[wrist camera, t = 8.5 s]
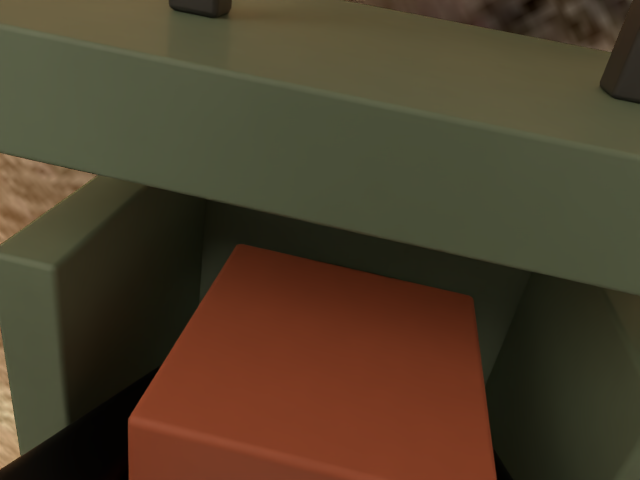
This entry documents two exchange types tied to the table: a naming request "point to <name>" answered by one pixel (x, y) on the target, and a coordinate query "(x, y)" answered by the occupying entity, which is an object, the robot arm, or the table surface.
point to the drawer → (329, 196)
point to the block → (317, 381)
